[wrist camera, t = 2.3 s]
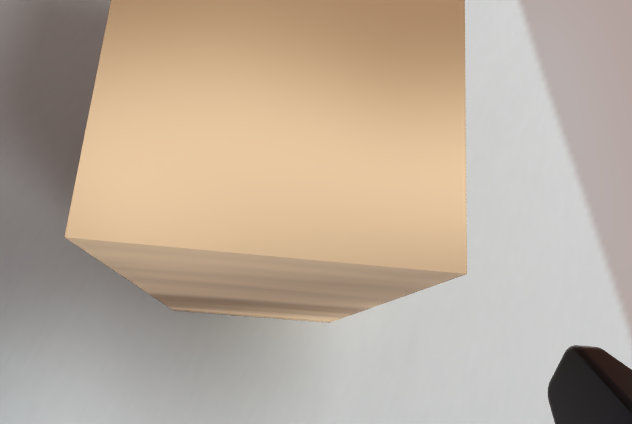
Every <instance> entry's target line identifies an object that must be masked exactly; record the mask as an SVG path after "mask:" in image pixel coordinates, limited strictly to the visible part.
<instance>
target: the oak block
mask: <svg viewBox="0 0 632 424" xmlns="http://www.w3.org/2000/svg"><path fill="white" fill-rule="evenodd" d="M65 238H66V239H68V240H69V241H71V242H72V243H74V244H75V245H77V246H78V247H80V248H81V249H83V250H84V251H86V252H87V253H89V254H90V255H92V256H93V257H95V258H96V259H98V260H99V261H100V262H102V263H103V264H105V265H106V266H108V267H109V268H111V269H112V270H114V271H115V272H117V273H118V274H120V275H121V276H123V277H124V278H126V279H127V280H129V281H130V282H132V283H133V284H135V285H136V286H138V287H139V288H141V289H142V290H144V291H145V292H147V293H148V294H150V295H151V296H153V297H154V298H156V299H157V300H159V301H160V302H162V303H163V304H164V305H166V306H167V307H169V308H170V309H172V310H174V311H187V312H200V313H212V314H225V315H238V316H251V317H264V318H277V319H290V320H302V321H315V322H328V323H330V322H333V321H335V320H338V319H341V318H344V317H347V316H349V315H352V314H355V313H358V312H361V311H364V310H366V309H369V308H372V307H375V306H378V305H381V304H383V303H386V302H389V301H392V300H395V299H398V298H400V297H403V296H406V295H409V294H412V293H414V292H417V291H420V290H423V289H426V288H429V287H431V286H434V285H437V284H440V283H443V282H446V281H448V280H451V279H454V278H457V277H460V276H463V275H465V274H467V224H466V107H465V0H111V3H110V9H109V14H108V19H107V24H106V29H105V34H104V39H103V44H102V49H101V54H100V59H99V64H98V69H97V74H96V80H95V85H94V90H93V95H92V100H91V105H90V110H89V115H88V120H87V125H86V130H85V135H84V140H83V145H82V151H81V156H80V161H79V166H78V171H77V176H76V181H75V186H74V191H73V196H72V201H71V206H70V211H69V217H68V222H67V227H66V232H65Z"/></svg>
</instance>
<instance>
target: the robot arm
mask: <svg viewBox="0 0 632 424" xmlns="http://www.w3.org/2000/svg"><path fill="white" fill-rule="evenodd" d="M548 399H549V404H550V407H551V411H552V414H553V418H554V422H555V424H632V370H631V369H630V368H628V367H627V366H625V365H624V364H623V363H621V362H620V361H618V360H617V359H616V358H614V357H613V356H611V355H610V354H608V353H607V352H606V351H604V350H603V349H601V348H598V347H591V346H578V345H575V346H571V347H570V348H568V349H567V350H566V352H565V353H564V355H563V357H562V359H561V361H560V363H559V365H558V367H557V369H556V371H555V373H554V375H553V377H552V379H551V381H550V383H549V387H548Z"/></svg>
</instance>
